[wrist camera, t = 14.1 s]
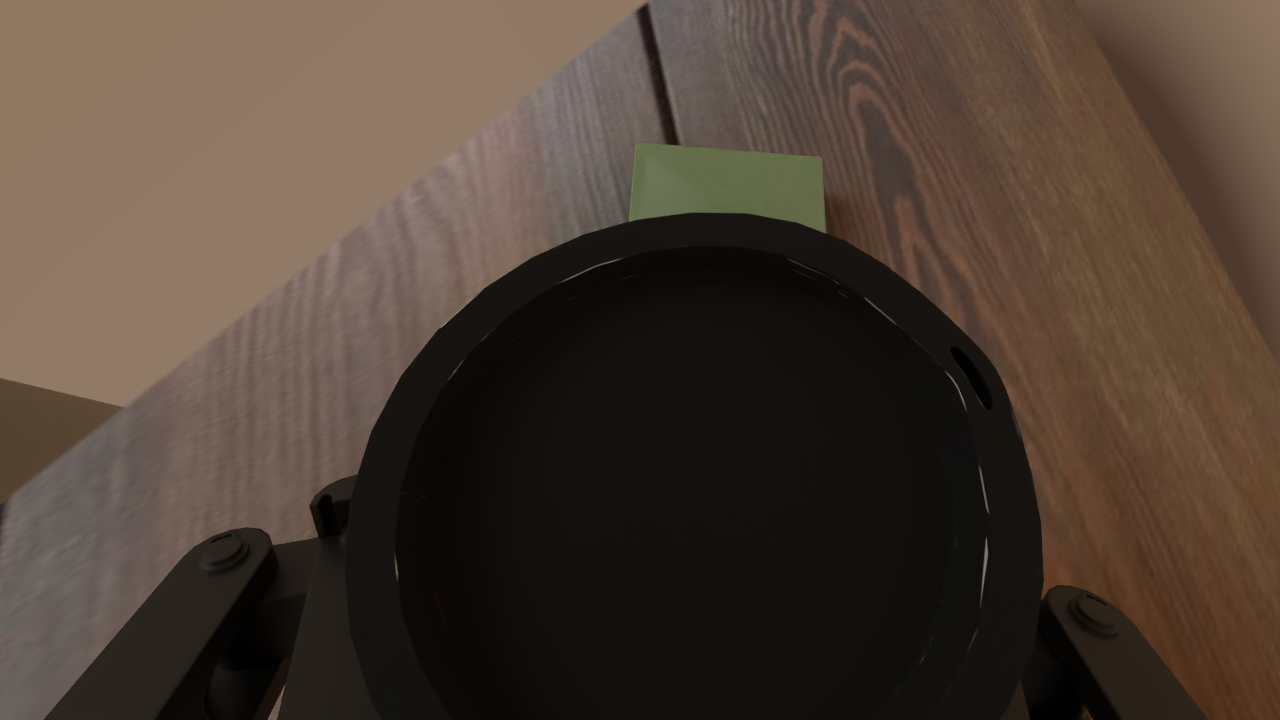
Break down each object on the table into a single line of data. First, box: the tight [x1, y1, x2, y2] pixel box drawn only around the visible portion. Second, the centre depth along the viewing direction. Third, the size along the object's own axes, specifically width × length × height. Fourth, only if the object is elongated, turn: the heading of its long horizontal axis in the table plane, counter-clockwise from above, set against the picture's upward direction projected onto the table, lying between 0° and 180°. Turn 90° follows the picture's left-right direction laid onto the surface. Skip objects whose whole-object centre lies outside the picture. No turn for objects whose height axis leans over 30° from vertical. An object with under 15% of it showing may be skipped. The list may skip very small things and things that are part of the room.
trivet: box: [628, 142, 826, 233], centre depth 24 cm, size 9×9×2 cm
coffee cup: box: [344, 212, 1044, 720], centre depth 12 cm, size 8×8×15 cm
